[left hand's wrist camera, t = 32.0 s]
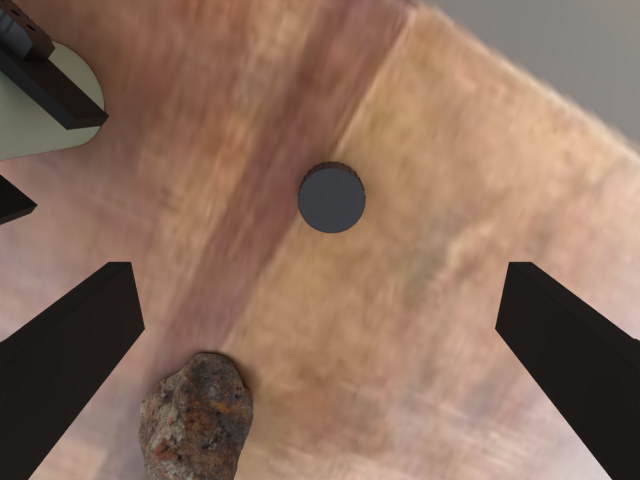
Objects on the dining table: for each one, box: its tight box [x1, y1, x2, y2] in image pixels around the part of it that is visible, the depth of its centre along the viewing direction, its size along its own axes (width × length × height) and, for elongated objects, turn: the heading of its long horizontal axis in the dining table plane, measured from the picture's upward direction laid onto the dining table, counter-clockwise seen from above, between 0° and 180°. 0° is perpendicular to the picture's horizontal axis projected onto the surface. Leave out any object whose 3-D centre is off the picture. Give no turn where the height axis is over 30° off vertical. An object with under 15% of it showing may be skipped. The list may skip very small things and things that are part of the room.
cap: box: [298, 161, 366, 233], centre depth 24 cm, size 4×4×2 cm
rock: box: [138, 353, 253, 480], centre depth 30 cm, size 14×9×10 cm
